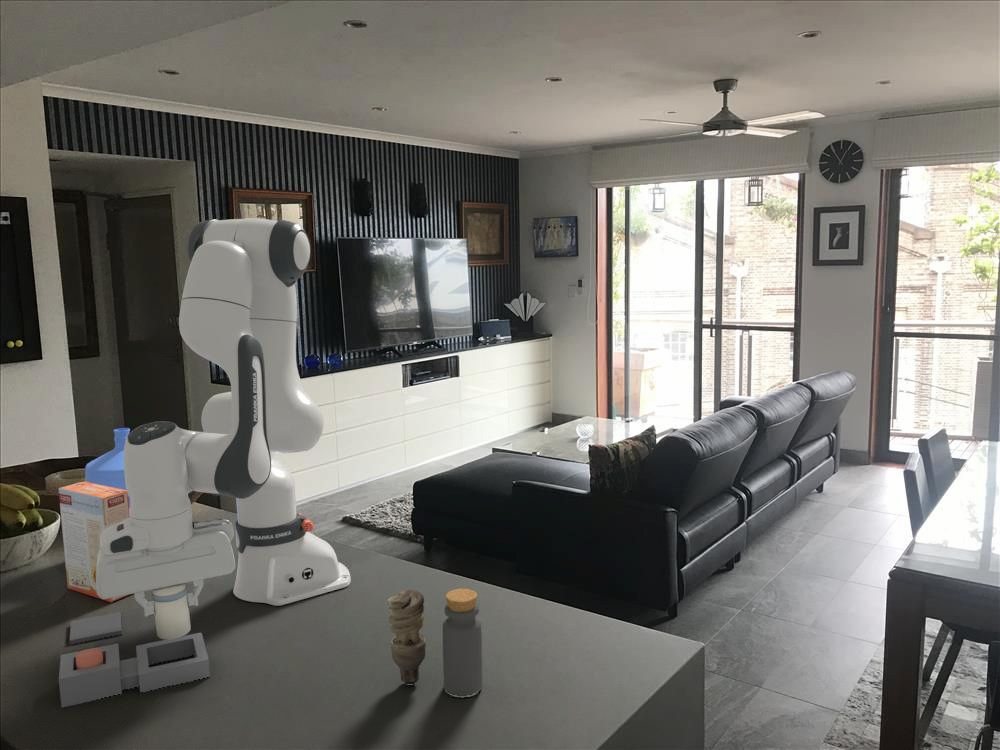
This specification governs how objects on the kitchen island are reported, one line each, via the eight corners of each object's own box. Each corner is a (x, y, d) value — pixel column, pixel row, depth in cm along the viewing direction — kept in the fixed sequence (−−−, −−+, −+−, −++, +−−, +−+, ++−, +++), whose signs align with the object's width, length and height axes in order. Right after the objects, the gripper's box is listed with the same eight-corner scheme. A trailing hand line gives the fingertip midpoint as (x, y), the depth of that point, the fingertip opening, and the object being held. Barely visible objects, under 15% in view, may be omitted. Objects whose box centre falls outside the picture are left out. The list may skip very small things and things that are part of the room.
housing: (202, 649, 135) (200, 623, 134) (210, 677, 126) (208, 650, 125) (64, 678, 126) (61, 651, 125) (61, 711, 117) (58, 682, 116)
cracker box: (138, 592, 157) (129, 489, 154) (110, 604, 152) (100, 497, 149) (95, 578, 164) (85, 479, 161) (66, 589, 159) (56, 487, 156)
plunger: (105, 676, 125) (102, 646, 124) (105, 687, 122) (102, 656, 121) (79, 681, 124) (76, 651, 123) (78, 693, 121) (75, 662, 120)
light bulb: (392, 696, 120) (389, 601, 118) (387, 677, 125) (384, 586, 123) (429, 690, 121) (427, 596, 119) (423, 672, 127) (420, 582, 124)
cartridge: (189, 620, 131) (184, 574, 130) (193, 634, 127) (188, 587, 125) (155, 628, 129) (150, 581, 128) (157, 642, 125) (151, 595, 123)
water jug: (185, 548, 180) (176, 426, 176) (120, 572, 167) (108, 441, 163) (142, 536, 188) (132, 419, 184) (77, 558, 175) (65, 432, 171)
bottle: (461, 674, 126) (460, 583, 124) (490, 686, 122) (489, 593, 120) (435, 690, 122) (433, 596, 119) (464, 703, 118) (462, 607, 116)
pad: (120, 616, 147) (120, 611, 147) (121, 634, 140) (121, 630, 140) (71, 625, 144) (71, 621, 143) (70, 644, 137) (69, 640, 136)
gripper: (229, 509, 132) (236, 587, 135) (90, 533, 123) (101, 616, 126) (235, 521, 126) (242, 603, 129) (89, 547, 118) (101, 634, 120)
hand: (171, 609), depth 127 cm, fingers closed on cartridge, 5 cm apart
